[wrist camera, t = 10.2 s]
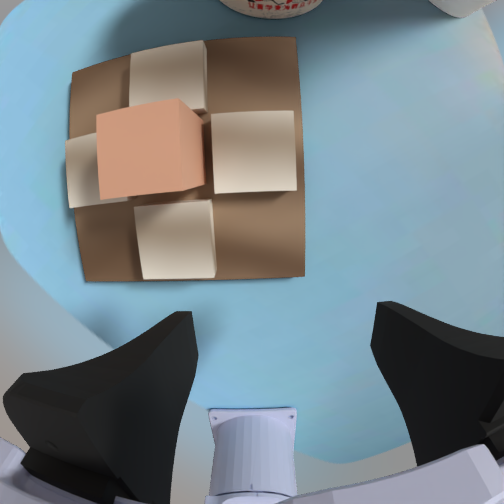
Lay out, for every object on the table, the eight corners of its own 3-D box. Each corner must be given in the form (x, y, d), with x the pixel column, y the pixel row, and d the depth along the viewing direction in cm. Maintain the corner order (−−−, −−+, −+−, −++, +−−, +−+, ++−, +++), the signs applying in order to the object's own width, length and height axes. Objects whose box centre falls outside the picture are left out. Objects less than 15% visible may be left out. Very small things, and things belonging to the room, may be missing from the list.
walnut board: (302, 271, 20) (308, 285, 18) (92, 276, 20) (76, 288, 18) (293, 42, 16) (298, 27, 13) (79, 75, 16) (61, 67, 14)
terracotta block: (206, 184, 17) (183, 190, 12) (145, 189, 18) (100, 199, 12) (203, 120, 16) (178, 98, 11) (142, 129, 16) (96, 114, 11)
